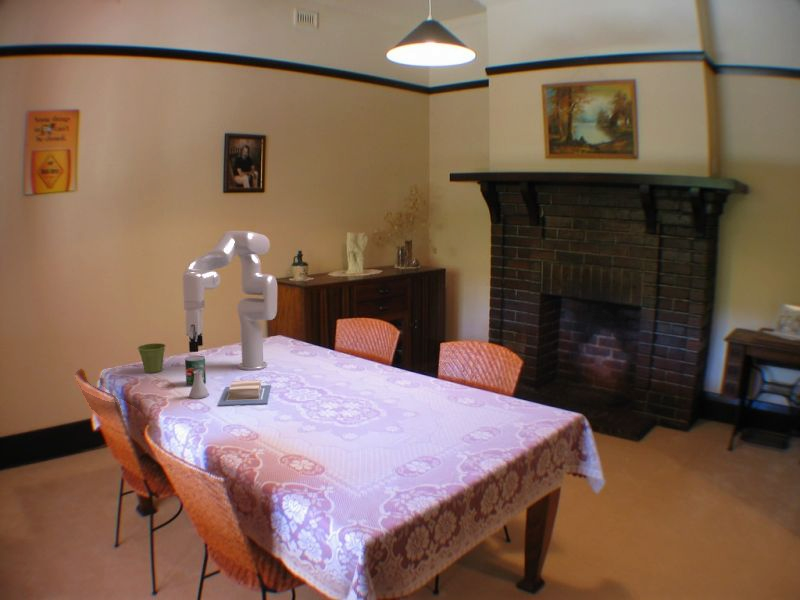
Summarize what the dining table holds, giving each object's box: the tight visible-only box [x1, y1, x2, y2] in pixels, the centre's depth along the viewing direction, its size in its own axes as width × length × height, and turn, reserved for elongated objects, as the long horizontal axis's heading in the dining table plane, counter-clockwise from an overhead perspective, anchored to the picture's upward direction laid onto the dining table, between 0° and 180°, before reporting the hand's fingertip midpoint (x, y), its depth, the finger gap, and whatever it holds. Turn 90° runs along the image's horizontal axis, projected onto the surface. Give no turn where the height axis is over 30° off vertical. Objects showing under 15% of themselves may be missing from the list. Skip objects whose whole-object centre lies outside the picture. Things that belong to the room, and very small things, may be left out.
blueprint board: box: [217, 384, 272, 407], centre depth 253 cm, size 22×18×1 cm
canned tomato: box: [184, 355, 207, 387], centre depth 267 cm, size 8×8×11 cm
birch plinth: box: [229, 379, 262, 400], centre depth 252 cm, size 11×11×4 cm
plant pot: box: [136, 342, 167, 374], centre depth 285 cm, size 12×12×11 cm
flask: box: [188, 371, 210, 400], centre depth 251 cm, size 7×7×10 cm
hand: (196, 348), depth 249 cm, fingers open, 9 cm apart
